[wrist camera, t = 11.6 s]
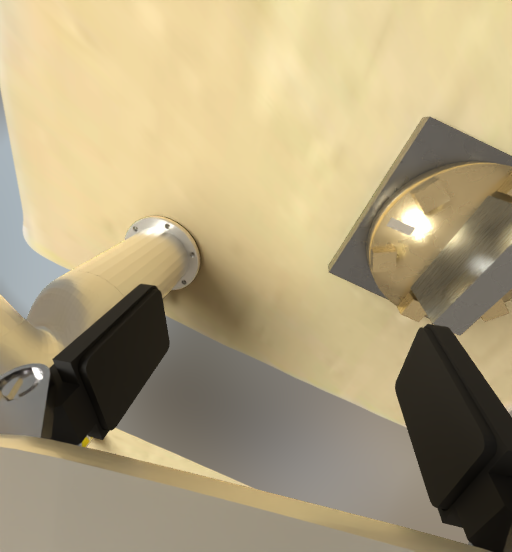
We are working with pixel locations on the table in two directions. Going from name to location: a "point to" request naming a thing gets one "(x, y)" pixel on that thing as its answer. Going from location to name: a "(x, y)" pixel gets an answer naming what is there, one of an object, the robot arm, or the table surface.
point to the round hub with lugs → (447, 245)
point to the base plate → (409, 164)
